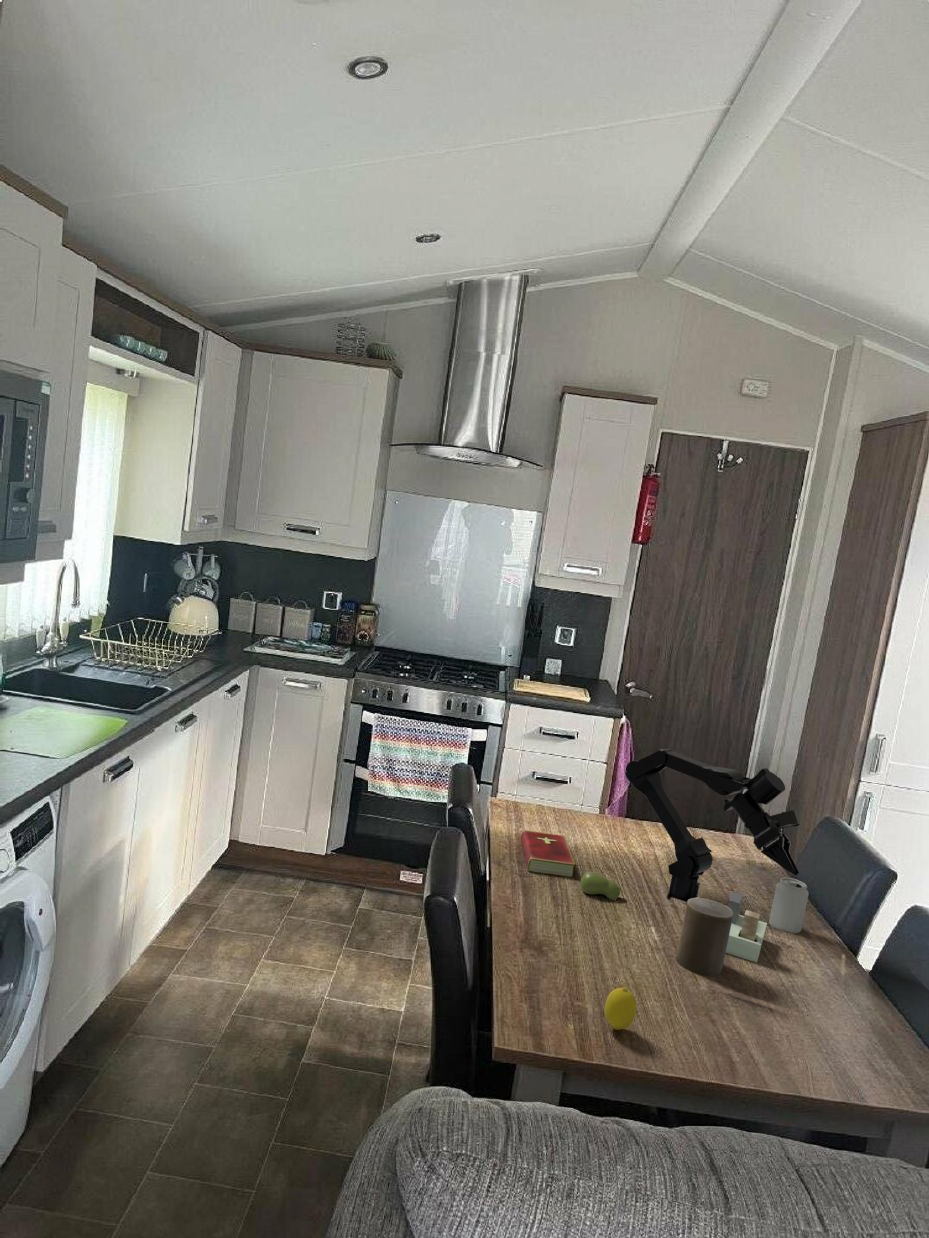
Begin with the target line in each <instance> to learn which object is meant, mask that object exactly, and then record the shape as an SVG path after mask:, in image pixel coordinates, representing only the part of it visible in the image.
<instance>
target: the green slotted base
mask: <svg viewBox="0 0 929 1238" xmlns="http://www.w3.org/2000/svg"><path fill="white" fill-rule="evenodd" d="M743 896H744V894H741V893H738V892H734V891H732V892H731V895H730V896H729V900H728V904H727V907H729V908H730V909H732V911H733V919H732V924H731V929H730V934H729V939H728V940H731V941H734V942H737V943H740V944H744V945H747V946H750V947H753V948H756V949H760V948H761V949H762V946H761V944H762V945H763V942H762V941H764V938H765V937H764V936H765V933H766V929H767V925H768V923H767V922H764V921H762V920H759V921H758V926H757V931H756V936H755V939H756V940H757V942H755V941H751V940H748V939H745V938H742V937H738V936H739V934H740V935H741V930H742V925H743V920H744V915H741V914H740V913H741V906H742V902H743ZM761 949H760V950H761Z"/></svg>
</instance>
